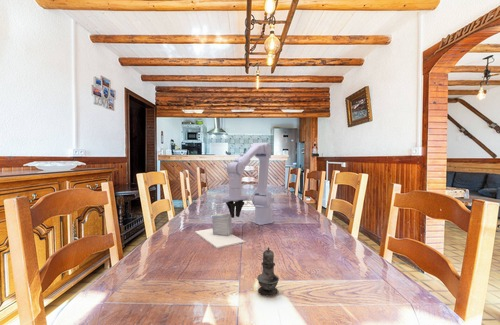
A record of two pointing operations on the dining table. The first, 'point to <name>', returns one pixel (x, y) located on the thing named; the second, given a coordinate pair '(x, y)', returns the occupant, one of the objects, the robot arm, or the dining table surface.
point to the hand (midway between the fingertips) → (234, 217)
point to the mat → (219, 238)
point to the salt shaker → (268, 275)
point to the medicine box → (222, 224)
